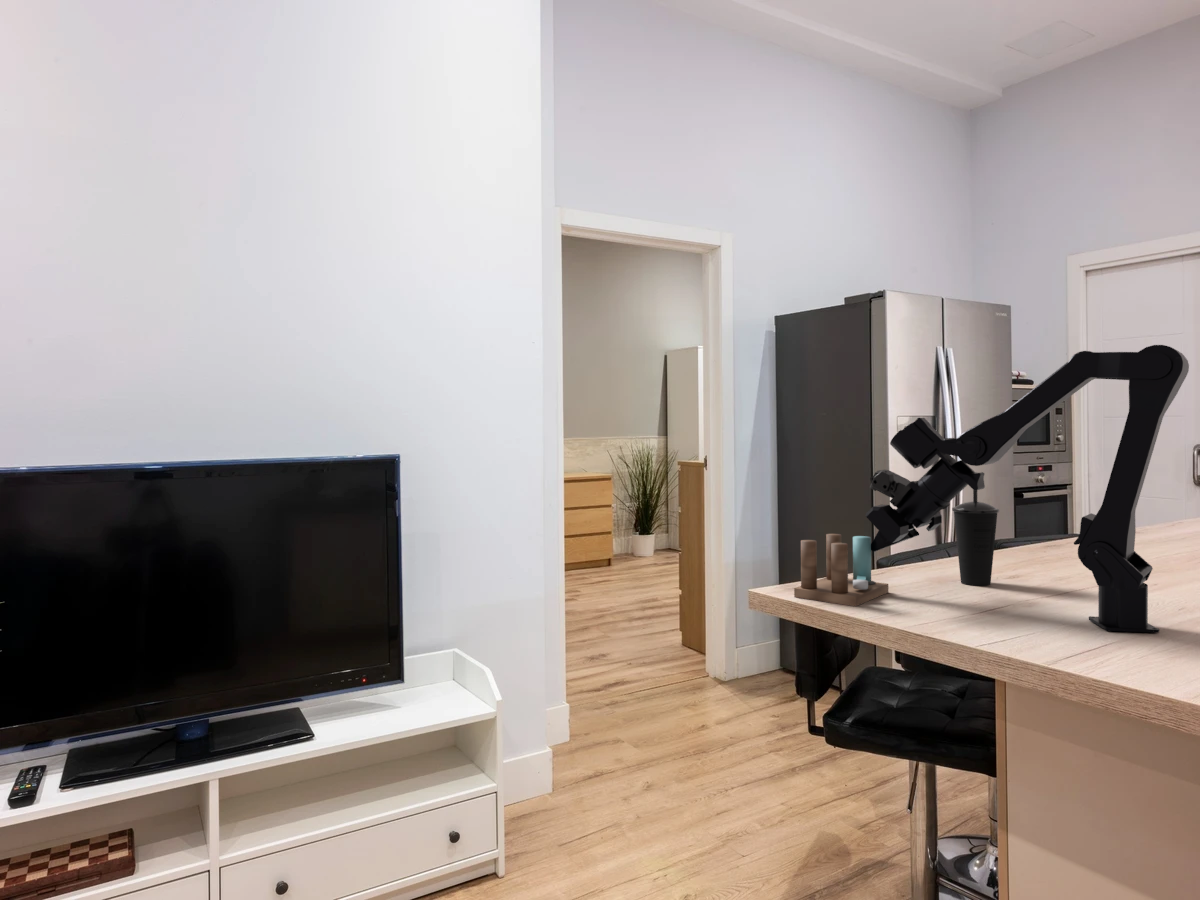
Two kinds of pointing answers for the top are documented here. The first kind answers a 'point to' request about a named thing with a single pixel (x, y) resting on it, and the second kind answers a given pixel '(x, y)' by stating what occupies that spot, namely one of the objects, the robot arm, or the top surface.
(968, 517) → the drinking cup
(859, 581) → the hinged leg
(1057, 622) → the top surface
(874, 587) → the brown peg stand
